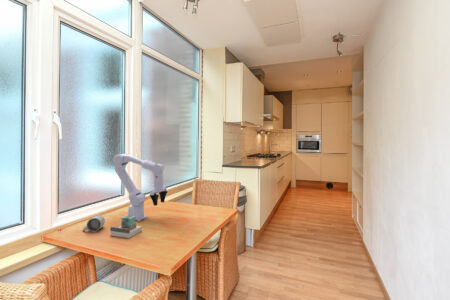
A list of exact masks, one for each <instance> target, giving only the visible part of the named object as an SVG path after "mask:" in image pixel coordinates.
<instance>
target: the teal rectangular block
mask: <svg viewBox="0 0 450 300" xmlns="http://www.w3.org/2000/svg"><path fill="white" fill-rule="evenodd" d="M120 219H121V225H120V226H121V228H126V229H130V230H132V229H134V228H136V226H137V224H136V221H137V220H135V216H128V215H125V216H122V217H121V218H120Z"/></svg>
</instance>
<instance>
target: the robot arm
mask: <svg viewBox="0 0 450 300" xmlns="http://www.w3.org/2000/svg"><path fill="white" fill-rule="evenodd" d="M112 158H113V159H112V163H113V165H114V172H115V173H116V174H117V176H118V178H119V179H120V181H121V183H122V184H123V186H124V188H125V190H126V192H128V199H129V203H130V205H129V206H128V209H127V213H128V215H127V216H135V221H137V222H139V221H142V220H143V219H146V218H148V215H145V201H146V197H147V196H146V195H145V194H144V193H143V192H142V191H141V190H139V189H137V187H136V185H135V183H134V182H133V180H132V179H131V177H130V175H129V174H128V172H127V171H126V167H127V165H128V163H130V162H131V163H133V164H136V165H139V166H141V167H142V169H144V170H147V171H150V172H152V174H153V190H152V191H150V194H149V197H150V199H151V201H152V204H153V206H155V207H156V206H158V200H160V203H165V200H166V196H167V194H168V191H167V187H164V170H165V167H164V165H163V164H162V163H158V162H154V161H151V160H150V159H145V160H144V159H141V158H138V157H136V156H134V155H131V154H128V153H123V154H122V153H121V154H115V155H114V157H112ZM159 198H160V199H159Z"/></svg>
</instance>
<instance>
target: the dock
mask: <svg viewBox="0 0 450 300" xmlns="http://www.w3.org/2000/svg"><path fill="white" fill-rule="evenodd" d="M109 229H110V236H113V237H118V238H125V239H129V238H131V237H134V236H136V235H137V234H139V233H140V232H142V226H140V225H136V228H134V229H132V230H130V229H126V228H121V225H120V226H118V227H117V226H110V228H109Z"/></svg>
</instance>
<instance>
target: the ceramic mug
mask: <svg viewBox="0 0 450 300" xmlns="http://www.w3.org/2000/svg"><path fill="white" fill-rule="evenodd" d="M105 222H106V218H104V216H102V215H99V214H98V215H95V216H92V218H91V217H90V219H89V220H88V221H87V223H86V226H84V227H83V231H84V232H85V231H87V230H88V231H89V232H92V233H95V232H98V231H99V230H100V229H101V228H102V227H103V226H104V225H105Z"/></svg>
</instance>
